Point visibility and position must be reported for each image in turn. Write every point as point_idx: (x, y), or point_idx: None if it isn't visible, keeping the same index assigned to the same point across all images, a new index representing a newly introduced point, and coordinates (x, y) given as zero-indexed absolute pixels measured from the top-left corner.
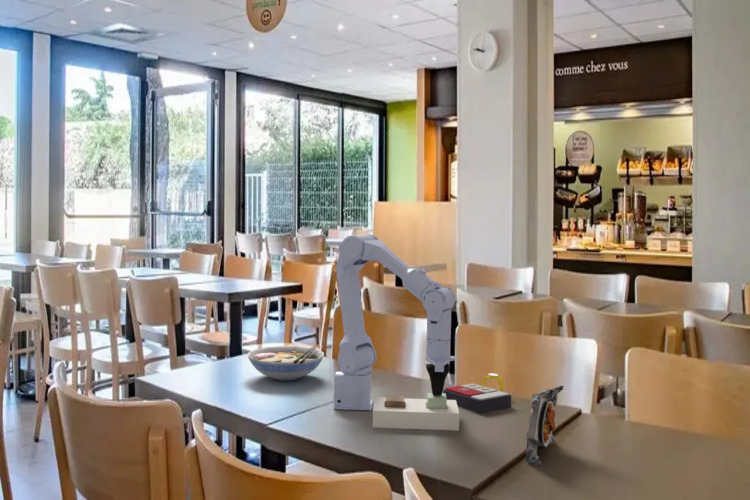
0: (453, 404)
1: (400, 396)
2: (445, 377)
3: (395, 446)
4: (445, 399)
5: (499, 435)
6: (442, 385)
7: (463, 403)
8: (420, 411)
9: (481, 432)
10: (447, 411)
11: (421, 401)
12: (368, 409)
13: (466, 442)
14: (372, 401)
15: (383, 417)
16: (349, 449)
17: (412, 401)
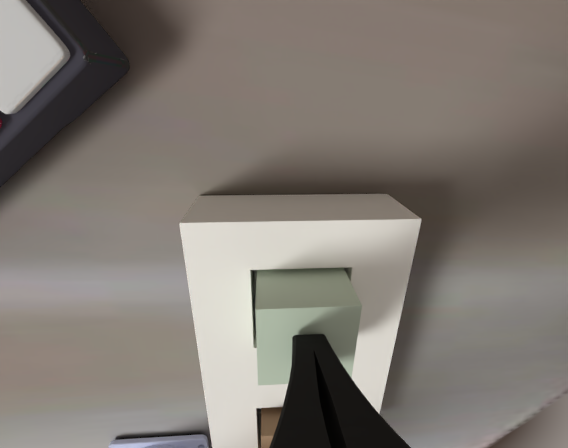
0: (269, 239)
1: (266, 445)
2: (404, 443)
3: (499, 361)
4: (359, 307)
5: (463, 11)
6: (350, 385)
7: (28, 151)
8: (380, 360)
9: (414, 99)
10: (385, 269)
11: (240, 362)
12: (207, 441)
13: (515, 175)
14: (124, 443)
15: None
16: (496, 433)
17: (247, 389)
